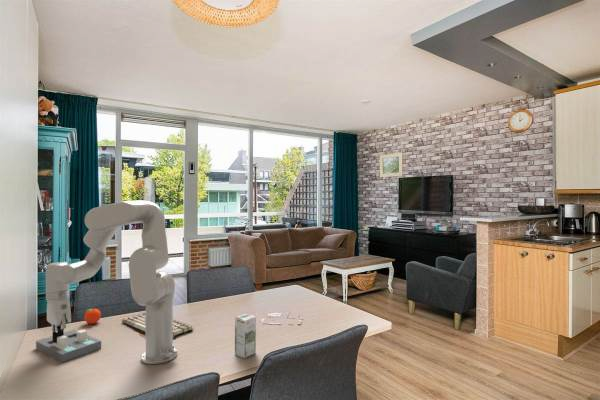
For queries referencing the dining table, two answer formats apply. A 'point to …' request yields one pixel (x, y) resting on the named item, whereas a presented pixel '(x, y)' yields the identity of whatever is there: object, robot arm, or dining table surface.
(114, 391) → the dining table surface
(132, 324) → the mechanical keyboard
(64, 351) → the switch panel
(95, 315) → the clementine
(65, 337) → the tab
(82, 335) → the tab
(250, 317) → the syrup box
